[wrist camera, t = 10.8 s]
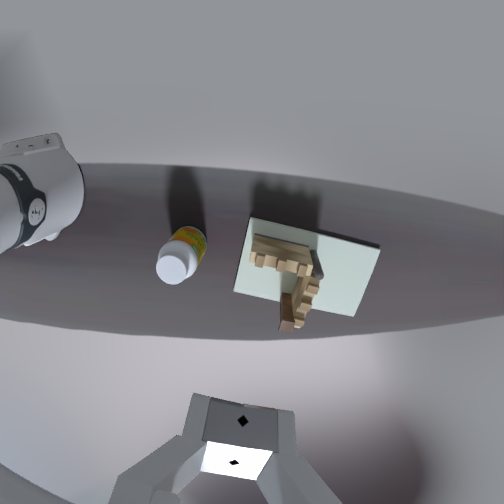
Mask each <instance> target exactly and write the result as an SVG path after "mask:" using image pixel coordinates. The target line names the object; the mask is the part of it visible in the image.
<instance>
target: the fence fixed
mask: <svg viewBox="0 0 504 504" xmlns="http://www.w3.org/2000/svg"><path fill="white" fill-rule="evenodd" d="M249 262H250V263H255V266H256V267H260V268H263V266H268V267H272V268H276V271H278V272H282V273H284V270H285V271H290V272H294V273H297V276H300V277H304V278H305V275H307V276H310V275H311V271H312V268H313V272H314V276H315V279H316V280H322V279H323V278H324V273H323V270H322V267H321V264H320V261H319V258H318V254H317V252H316V250H310V251H309V248H308V247H304V246H300V245H296V244H291V243H287V242H283V241H279V240H275V239H270V238H266V237H262V236H257V235H254V238H253V242H252V247H251V253H250V258H249Z"/></svg>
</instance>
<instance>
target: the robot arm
mask: <svg viewBox="0 0 504 504" xmlns="http://www.w3.org/2000/svg"><path fill="white" fill-rule="evenodd" d="M49 140H50V143H49ZM83 198H84V185H83V179H82V175H81V172H80V169H79V167H78V165H77V163H76V161H75V160H74V158H73V157H72V156H71V155H70V154H69V153H68V151H67V150H66V149H65V147H64V144H63V141H62V139H61V137H60V135H59V134H58V133H52V134H46V135H41V136H36V137H32V138H27V139H23V140H19V141H14V142H10V143H6V144H4V145H3V146H2V147H1V150H0V254H1V253H2V252H4V251H10V250H12V249H15V248H17V247H19V246H21V245H22V244H24V245H25V246H29V245H31V244H33V243H36V242H38V241H40V240H42V239H44V238H45V239H47V240H49V241H51V240H54V239H55V238H56V237H57V236H58V234H59V233H60V231H61V230H62V229H63V228H65V227H66V226H68V225H70V224H71V223H72V222H73V221H74V220H75V219H76V218H77V216H78V214H79V212H80V210H81V207H82V203H83ZM200 471H205V472H210V473H216V474H223V475H230V476H235V477H241V478H248V479H254V480H256V482H257V484H258V486H259V488H260V489H261V491H262V493H263V494H264V496H265V498H266V500H267V501H268V503H269V504H342V502H341V501H340V500H339V499H338V498H337V497H336V496H335V494H334V493H333V492H332V491H331V490H330V489H329V488H328V487H327V485H326V484H325V483H324V482H323V480H322V479H321V478H320V477H319V476H318V474H317V473H316V472H315V471H314V470H313V468H312V467H311V466H310V465H309V464H308V462H307V461H306V460H305V459H304V457H303V456H301V455H297V445H296V431H295V416H294V412H293V411H287V410H280V409H274V408H268V407H261V406H254V405H248V404H240V403H236V402H231V401H226V400H222V399H218V398H214V397H211V398H210V397H209V396H205V395H201V394H197V393H194V394H193V395H192V398H191V402H190V406H189V410H188V414H187V418H186V422H185V426H184V429H183V434H182V436H179V435H176V436H175V437H173V438H172V439H171V440H169V441H168V442H166V443H165V444H164V445H162V446H161V447H160V448H158V449H157V450H155V451H154V452H153V453H151V454H150V455H148V456H147V457H145V458H144V459H143V460H141V461H140V462H138V463H137V464H135V465H134V466H132V467H131V468H129V469H128V470H127V471H125V472H123V473H122V474H120V475H119V476H118V478H117V481H116V484H115V486H114V489H113V492H112V495H111V498H110V501H109V503H108V504H180V498H179V497H178V496H177V495H176V494H177V493H178V492H179V491H180V490H181V489H183V488H184V487H185V486H186V485H187V484H188V483H189V482H190V481H191V480H192V479H193V478H194V477H195V476H196V475H197V474H198V473H200ZM0 504H74V503H71V502H69V501H67V500H65V499H63V498H61V497H59V496H57V495H55V494H53V493H51V492H49V491H47V490H45V489H43V488H41V487H39V486H37V485H36V484H34V483H32V482H30V481H29V480H27V479H25V478H23V477H22V476H20V475H18V474H17V473H15V472H13V471H12V470H10V469H9V468H7V467H5V466H4V465H2V464H1V463H0Z"/></svg>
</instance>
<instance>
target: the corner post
mask: <svg viewBox="0 0 504 504" xmlns="http://www.w3.org/2000/svg"><path fill="white" fill-rule="evenodd" d="M294 325H295V320H293V312H292V300H291V294H288V293H283V292H282V295H281V298H280V326H279V331H282V332H287V333H292V331H293V328H294Z"/></svg>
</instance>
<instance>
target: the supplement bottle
mask: <svg viewBox="0 0 504 504" xmlns="http://www.w3.org/2000/svg"><path fill="white" fill-rule="evenodd" d="M206 247H207V242H206V238H205V236H204V235H203V233H202V232H201V231H200V230H198V229H197V228H194V227H190V226H186V227H182V228H180V229H178V230H177V231H176V232H175V233H174V234H173V235H172V237H171V238H170V239H169V240H168V241H167V242H166V243H165V244H164V245H163V247H162V248H161V250H160V252H159V255H158V262H157V265H156V271H157V274H158V276H159V277H160V278H161V279H162V280H163V281H164V282H166V283H168V284H178V283H180V282H182V281H183V280H184V279H185V278H188V277H190V276H191V275H192V274H193V273H194V271H195V270H196V268H197V266H198V264H199V262H200V261H201V259H202V257H203V255H204V253H205V251H206Z"/></svg>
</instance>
